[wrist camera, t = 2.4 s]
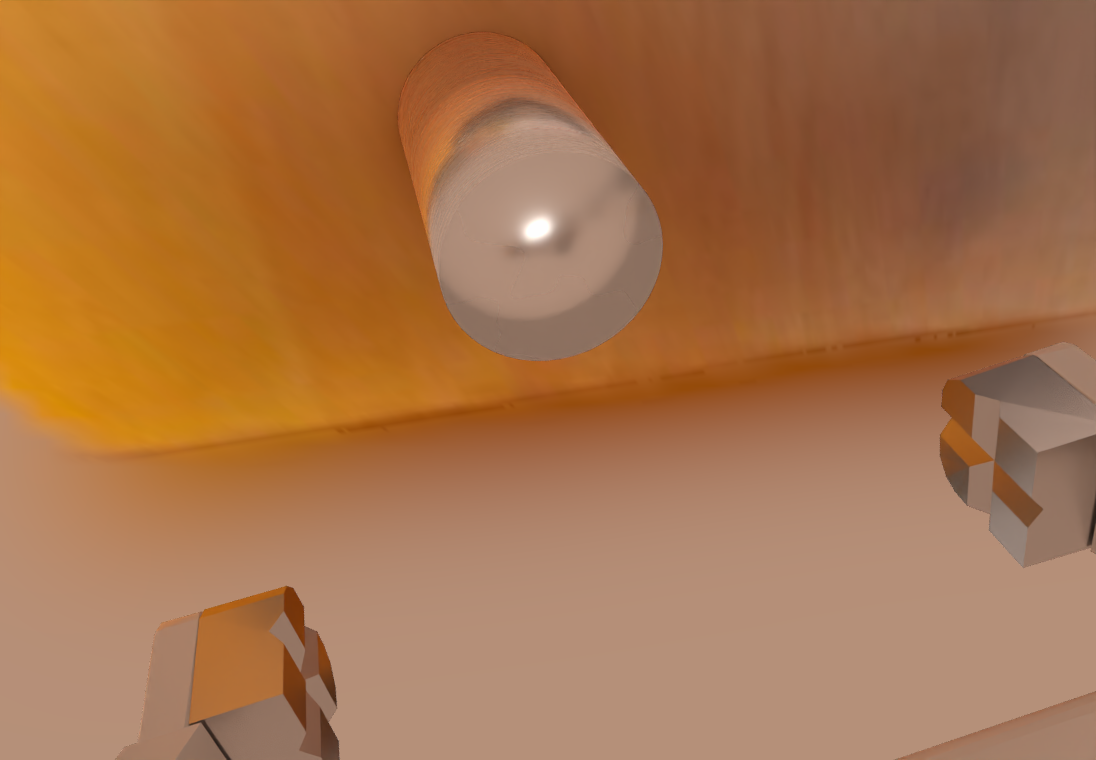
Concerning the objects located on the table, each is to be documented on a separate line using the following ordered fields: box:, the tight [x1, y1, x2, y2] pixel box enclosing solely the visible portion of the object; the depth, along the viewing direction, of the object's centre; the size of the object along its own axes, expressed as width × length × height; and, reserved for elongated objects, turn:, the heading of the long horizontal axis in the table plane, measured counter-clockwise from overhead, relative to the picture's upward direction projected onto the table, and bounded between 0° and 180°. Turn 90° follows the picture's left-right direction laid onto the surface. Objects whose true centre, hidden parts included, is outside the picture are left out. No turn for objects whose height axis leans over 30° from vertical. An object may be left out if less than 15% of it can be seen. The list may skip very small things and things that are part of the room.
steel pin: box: [398, 32, 663, 361], centre depth 20 cm, size 4×4×8 cm
